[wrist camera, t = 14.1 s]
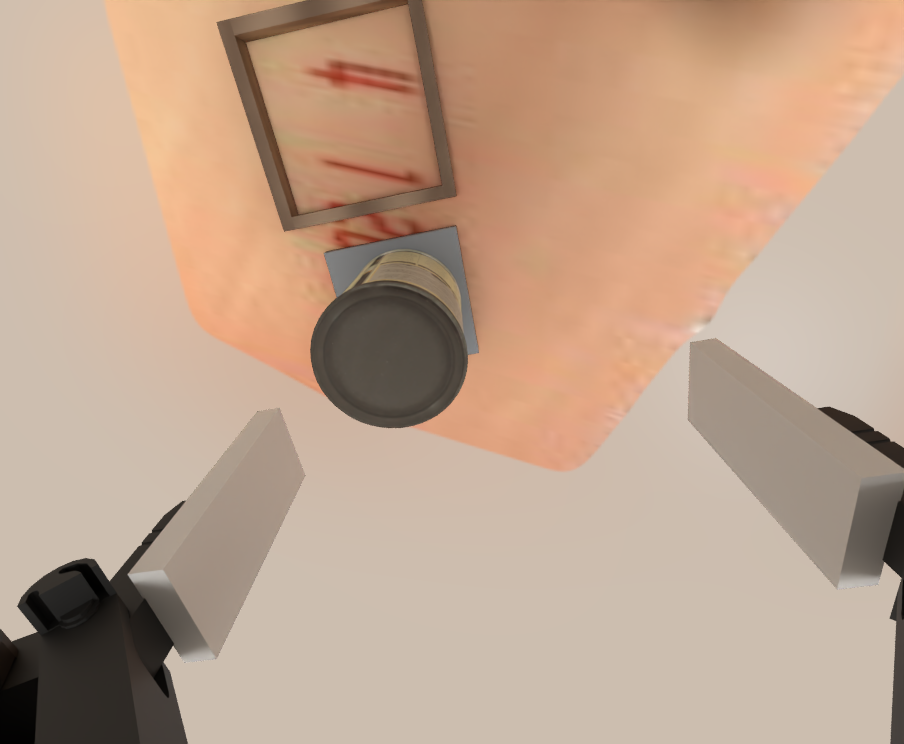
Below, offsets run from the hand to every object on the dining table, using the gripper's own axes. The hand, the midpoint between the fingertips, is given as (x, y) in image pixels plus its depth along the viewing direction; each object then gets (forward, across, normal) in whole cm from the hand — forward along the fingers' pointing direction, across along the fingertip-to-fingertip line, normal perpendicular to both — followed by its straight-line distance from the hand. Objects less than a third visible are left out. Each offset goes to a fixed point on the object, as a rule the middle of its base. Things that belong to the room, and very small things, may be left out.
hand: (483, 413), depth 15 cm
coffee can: (+29, -6, -4) cm, 30 cm away
